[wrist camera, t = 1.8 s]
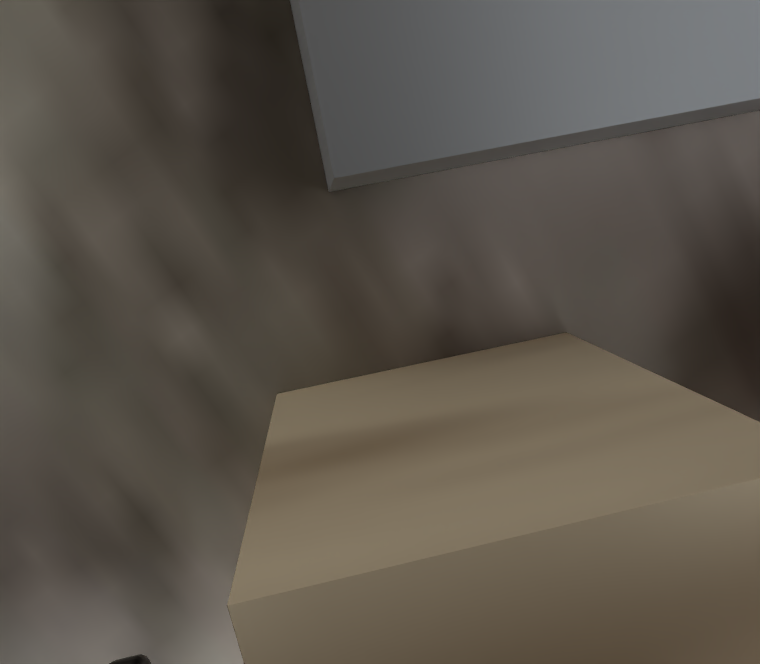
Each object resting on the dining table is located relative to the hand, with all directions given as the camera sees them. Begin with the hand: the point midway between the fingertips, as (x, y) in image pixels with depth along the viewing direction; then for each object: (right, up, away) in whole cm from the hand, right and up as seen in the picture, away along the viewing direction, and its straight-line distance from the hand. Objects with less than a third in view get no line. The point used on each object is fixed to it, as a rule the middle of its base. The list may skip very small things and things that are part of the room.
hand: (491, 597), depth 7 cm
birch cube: (0, +1, +3) cm, 3 cm away
